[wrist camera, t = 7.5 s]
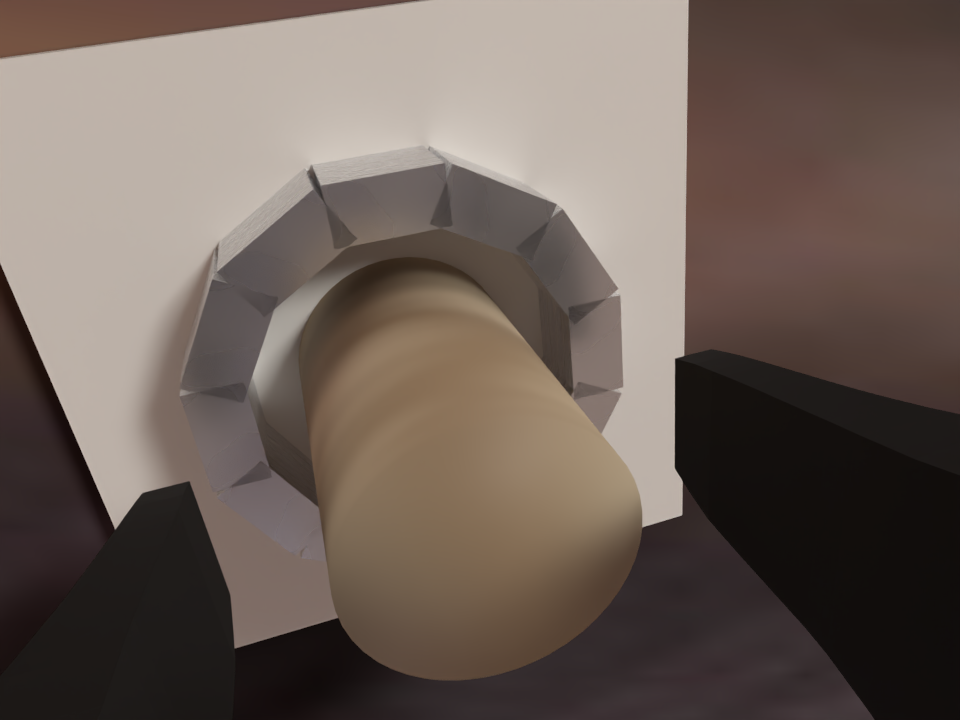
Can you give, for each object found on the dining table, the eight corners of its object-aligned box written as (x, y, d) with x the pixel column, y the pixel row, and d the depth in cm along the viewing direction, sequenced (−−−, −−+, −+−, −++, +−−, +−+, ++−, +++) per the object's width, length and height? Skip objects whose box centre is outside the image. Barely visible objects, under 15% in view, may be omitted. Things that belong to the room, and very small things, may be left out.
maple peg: (329, 471, 15) (373, 719, 10) (271, 288, 13) (287, 478, 8) (517, 415, 16) (650, 620, 11) (487, 233, 14) (631, 376, 9)
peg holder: (176, 645, 17) (169, 729, 15) (-68, 67, 11) (-132, 82, 9) (670, 501, 19) (718, 557, 17) (670, -34, 13) (743, -39, 12)
